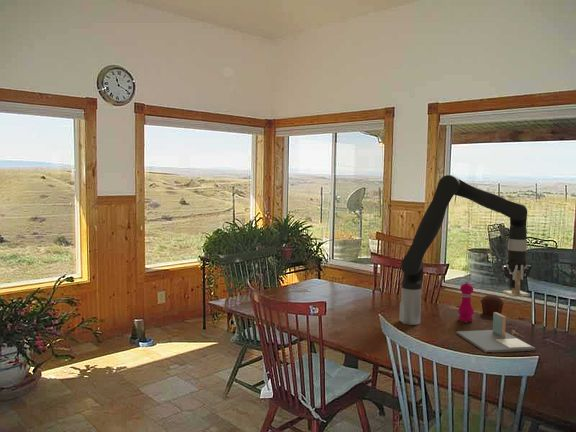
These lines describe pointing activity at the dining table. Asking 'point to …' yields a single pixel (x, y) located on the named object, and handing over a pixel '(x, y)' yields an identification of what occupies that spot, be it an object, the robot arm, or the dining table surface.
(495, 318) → the tile
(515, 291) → the square plate with post
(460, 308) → the pepper mill
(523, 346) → the plate
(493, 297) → the muffin
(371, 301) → the dining table surface
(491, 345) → the mat
